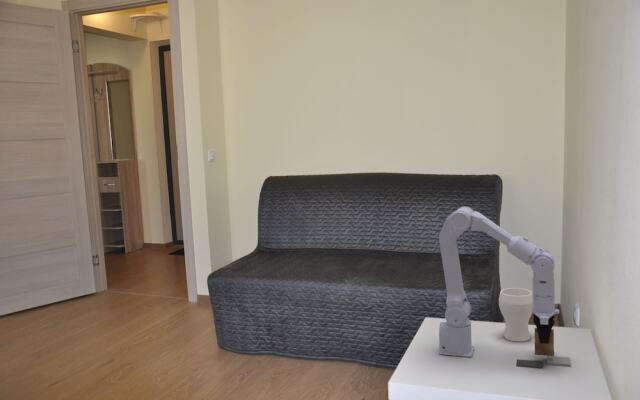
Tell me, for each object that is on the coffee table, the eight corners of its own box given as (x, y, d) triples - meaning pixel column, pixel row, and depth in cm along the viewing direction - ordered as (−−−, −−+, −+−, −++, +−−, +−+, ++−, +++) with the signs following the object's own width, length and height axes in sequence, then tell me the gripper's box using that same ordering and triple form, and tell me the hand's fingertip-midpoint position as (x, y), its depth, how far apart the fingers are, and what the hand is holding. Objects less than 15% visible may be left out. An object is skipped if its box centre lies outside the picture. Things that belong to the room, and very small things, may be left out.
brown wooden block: (534, 354, 156) (534, 330, 155) (534, 351, 158) (534, 328, 157) (553, 356, 154) (553, 332, 153) (553, 353, 156) (553, 329, 155)
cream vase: (530, 345, 168) (530, 298, 166) (495, 340, 174) (494, 294, 172) (537, 334, 177) (536, 289, 175) (504, 330, 183) (503, 286, 181)
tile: (547, 362, 154) (570, 364, 151) (547, 355, 158) (570, 357, 156) (547, 366, 154) (571, 368, 151) (547, 359, 158) (570, 361, 156)
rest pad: (516, 366, 154) (516, 364, 154) (516, 360, 158) (516, 359, 157) (543, 368, 151) (543, 367, 151) (542, 362, 155) (542, 361, 155)
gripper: (560, 302, 146) (560, 351, 147) (558, 288, 159) (558, 333, 161) (531, 301, 149) (532, 349, 150) (532, 287, 162) (532, 331, 163)
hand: (544, 341), depth 156 cm, fingers closed on brown wooden block, 2 cm apart
